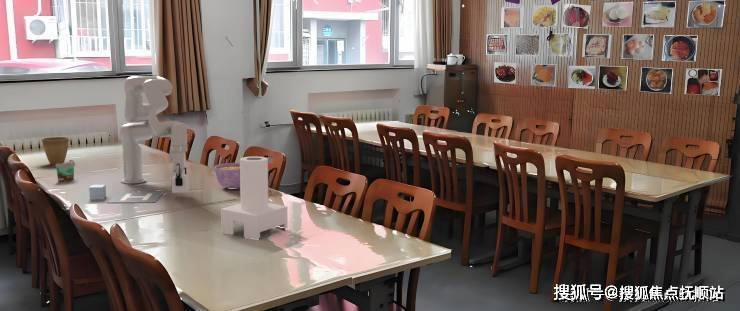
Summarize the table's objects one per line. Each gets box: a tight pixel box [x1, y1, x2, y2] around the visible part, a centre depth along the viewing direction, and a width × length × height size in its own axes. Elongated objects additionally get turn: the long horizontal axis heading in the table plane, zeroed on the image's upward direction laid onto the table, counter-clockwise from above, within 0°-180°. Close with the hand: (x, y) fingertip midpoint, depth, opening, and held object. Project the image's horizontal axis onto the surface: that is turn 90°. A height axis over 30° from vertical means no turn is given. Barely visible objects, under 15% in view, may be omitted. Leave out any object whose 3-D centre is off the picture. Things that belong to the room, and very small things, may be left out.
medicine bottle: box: [171, 168, 190, 194], centre depth 322 cm, size 7×7×12 cm
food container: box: [55, 159, 76, 183], centre depth 356 cm, size 12×6×10 cm, turn 168°
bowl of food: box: [213, 162, 240, 189], centre depth 345 cm, size 20×20×12 cm
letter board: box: [106, 191, 164, 204], centre depth 320 cm, size 22×22×1 cm
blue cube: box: [88, 184, 107, 200], centre depth 318 cm, size 6×6×6 cm
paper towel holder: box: [220, 156, 288, 239], centre depth 265 cm, size 19×19×30 cm
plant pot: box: [41, 136, 70, 166], centre depth 400 cm, size 15×15×16 cm
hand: (180, 183), depth 322 cm, fingers closed on medicine bottle, 7 cm apart
